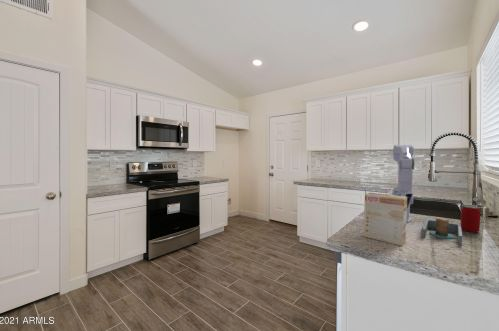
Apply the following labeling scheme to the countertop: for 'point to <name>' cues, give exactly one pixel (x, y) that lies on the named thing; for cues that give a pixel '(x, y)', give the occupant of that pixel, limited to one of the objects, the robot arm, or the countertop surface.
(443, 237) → the pad
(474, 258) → the countertop surface
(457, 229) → the grey angular frame piece
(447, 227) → the walnut cylinder
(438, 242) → the countertop surface
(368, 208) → the coffeecake box
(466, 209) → the beverage can
